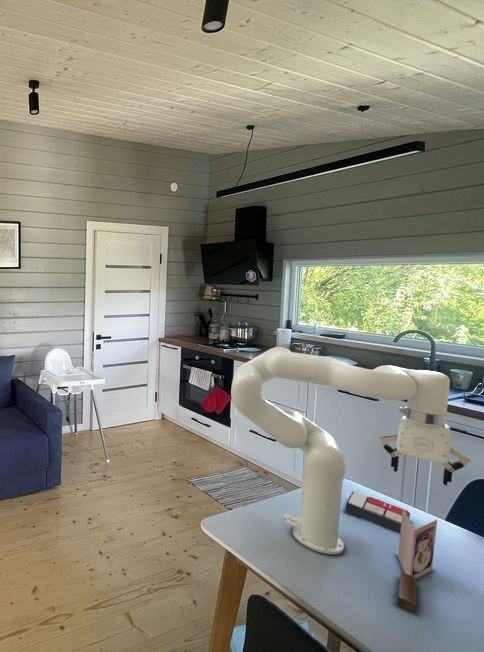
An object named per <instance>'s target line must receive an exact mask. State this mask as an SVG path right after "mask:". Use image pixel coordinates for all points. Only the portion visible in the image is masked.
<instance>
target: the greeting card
mask: <svg viewBox="0 0 484 652" xmlns="http://www.w3.org/2000/svg"><path fill="white" fill-rule="evenodd" d="M402 509H403V512H402V522H401V532H400V533H399V542H398V553H397V558H398V559H399V562H400V564H401V567H402V569H403V572H404V573H405V574H408V575H410V576H413V577H415V578H416V579H418V578H420V577H422V576H423V575H426V574H427V573H429V572H431V571H432V570H433V562H434V552H435V545H436V534H437V525H438V519H435V520H433V521H430V522H428V523H426V524H424V525H422V526H419V527H417V528H414V526H413V524H412V522H411V521H410V517H409V518H408V516H407V514H406V512H405V511H404V510H405V509H404V508H402Z"/></svg>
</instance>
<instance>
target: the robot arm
mask: <svg viewBox="0 0 484 652" xmlns="http://www.w3.org/2000/svg"><path fill="white" fill-rule="evenodd" d="M275 378H280V379H283V380H285V379H286V380H291V381H297V382H302V383H309V384H314V385H321V386H325V387H326V386H327V387H331V388H332V389H333V388H334V389H336V390H340V391H344V392H349V393H353V394H357V395H361V396H365V397H371V398H375V399H377V398H378V399H382V400H388V401H396V402H397V401H406V400H407V403H406V406H405V407H399V413H401V414H404V415H403V416H402V418H401V420H400V423H399V426H398V430H397V434H393V435H386V436H380V438H379V441H380V443H381V445H382V446H383V447H382V448H383V449H384V450H385V451H386V452H387V453H388V454H389V455H390V457H391V461H390V467H391V468H393V472H398V469H399V459H400V455H404V456H407V457H411V458H416V459H420V460H424V461H428V462H432V463H437V464H442V465H443V467H444V468H443V477H442V485H444V486H448V483H452V480H453V473H454V472H456V471H458V470H460V469H463V468H464V467H465V466H466V465H468V463H470V462H471V458H470V457H469V456H467V455H466V454H464V453H462V452H461V451H459V450H457V449H455V448H454V447H452V446H451V445H452V442H451V440H452V436H451V428H450V426H449V425H448V424H447V422H446V421H447V413H448V404H449V394H450V386H451V379H450V377H449V376H448V375H446V374H444V373H441V372H438V371H431V370H424V369H423V370H422V369H417V370H415V369H409V368H406V367H405V368H403V367H399V366H395V365H385V364H384V365H380V366H377V367H375V368H373V369H369V368H364V367H360V366H356V365H352V364H349V363H346V362H344V361H342V360H339V359H336V358H334V357H329V356H323V355H316V354H308V353H302V352H301V353H300V352H294V351H291V350H290V349H289V348H286V347H283V346H275V347H271V348H269V349H268V350H266V351H263V352H262V353H261V354H259V355H258V356H256V357H253V358H252V359H250V360H249V361H246V362H245V363H243V364H241V365H240V366H239V367H238V368H236V370H235V371H234V374H233V377H232V382H231V387H230V388H231V390H230V398H231V401H232V403H233V405H234V407H235V408H236V410H237V411H238V412H239V413H240V414H241V415H243V416H244V417H245V418H246V419H248V420H249V421H251V423H253V424H255V425H256V426H257V427H258V428H259V429H261V430H262V431H263V432H265V433H266V434H268V435H269V436H270V437H272V438H273V439H274V440H276V441H277V442H278V443H279V444H280V445H282V446H285V448H289V449H300V450H301V451H302V452H303V455H304V456H303V457H304V464H303V465H304V466H303V474H302V483H301V500H300V513H299V517H297V516H295V517H294V516H291V514H287V513H284V514H283V517H282V519H283V521H285V524H286V525H288V526H291V527H293V529H292V534H293V536H294V538H295V539H296V540H297V541H298V542H299V543H301V544H302V545H303V546H305V547H306V548H308V549H310V550H313V551H315V552H318V553H321V554H324V555H340V554H342V553H343V552H344V549H345V545H344V542H343V540H342V539H341V538H340V537H339V529H340V527H339V526H340V517H341V506H342V494H343V493H342V492H343V483H344V478H345V474H346V461H345V456H344V455H343V452H342V450H341V448H340V445H339V444H338V442H337V440H336V439H335V438H334V437H333V436H332V435H331V434H329V432H327V431H325V430H324V429H322V428H321V427H320V426H318V425H317V424H315V423H314V422H312V421H311V420H309V419H308V418H306V417H305V416H304V415H303V414H301V413H299V412H298V411H295V410H293V409H289V408H281V409H280V408H279V407H278V406H276V405H275V404H274V403H272V402H271V401H268V400H267V399H266V398H264V397H263V396H262V390H263V386H264V384H265V383H267V382H268V381H270V380H272V379H275ZM389 442H396V445H395V446H396V447H395V448H392V446H391V445H390V444H389ZM451 455H452V456H453V457H456V458H458V459H459V460H458V461H455V462H453V463H452V462H451V461H450V458H451Z"/></svg>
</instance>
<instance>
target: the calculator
mask: <svg viewBox="0 0 484 652" xmlns="http://www.w3.org/2000/svg"><path fill="white" fill-rule="evenodd" d="M403 509H404V508H403V507H402V508H401V507H399V506H396V505H394V504H391V503H388V502H386V501H383V500H380V499H377V498H375V497H372V496H368V495H365V494H362V493H360V492H357V491H352V492H351V493H350V495H349V497H348V499H347V501H346V503H345V509H344V512H345V513H347V514H349V515H351V516H353V517H356V518H358V519H360V518H361V519H362V518H363V519H365V520H368V521H369V522H372V523H375V524H377V525H379V526H382V527H385V528H387V529H388V530H389V529H390V530H391V531H394V532H397V533H399V534H400V532H401V522H402V512H403ZM404 511H405V512H406V514H407V516H408V518H409V519H410V516H411V512H409V510H407V509H404Z"/></svg>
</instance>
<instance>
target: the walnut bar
mask: <svg viewBox="0 0 484 652" xmlns="http://www.w3.org/2000/svg"><path fill="white" fill-rule="evenodd" d="M398 583H399V585H398V599H397V601H398V602H397V607H399V608H402V609H403V610H406V611H408V612H411V613H413V614H415V613H416V607H417V606H416V605H417V601H416V600H417V578H415V577H413V576H410V575H408V574H405V572H404V571H400V573H399V582H398Z"/></svg>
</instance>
